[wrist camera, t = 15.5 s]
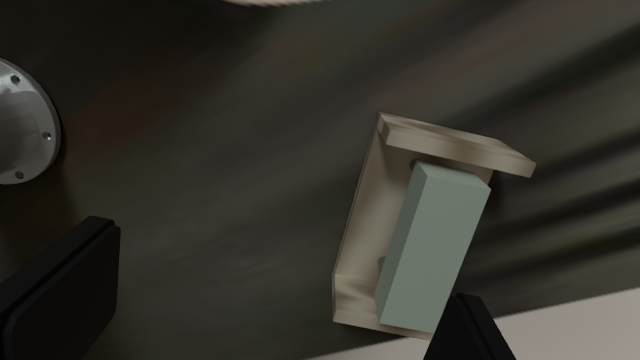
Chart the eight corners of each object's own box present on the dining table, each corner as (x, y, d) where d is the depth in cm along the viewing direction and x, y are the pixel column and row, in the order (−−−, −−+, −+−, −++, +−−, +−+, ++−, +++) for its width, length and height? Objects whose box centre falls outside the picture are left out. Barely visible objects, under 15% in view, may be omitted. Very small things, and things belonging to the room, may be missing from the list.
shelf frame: (332, 275, 44) (332, 321, 37) (378, 111, 37) (390, 129, 30) (434, 296, 45) (454, 345, 38) (497, 139, 38) (536, 163, 31)
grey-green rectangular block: (416, 160, 33) (427, 176, 30) (472, 172, 34) (491, 189, 30) (374, 294, 38) (379, 323, 34) (423, 304, 38) (434, 333, 35)
